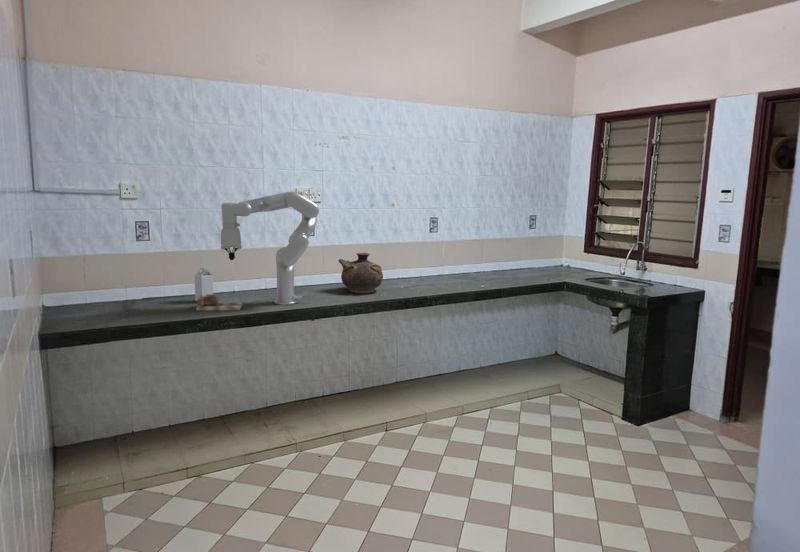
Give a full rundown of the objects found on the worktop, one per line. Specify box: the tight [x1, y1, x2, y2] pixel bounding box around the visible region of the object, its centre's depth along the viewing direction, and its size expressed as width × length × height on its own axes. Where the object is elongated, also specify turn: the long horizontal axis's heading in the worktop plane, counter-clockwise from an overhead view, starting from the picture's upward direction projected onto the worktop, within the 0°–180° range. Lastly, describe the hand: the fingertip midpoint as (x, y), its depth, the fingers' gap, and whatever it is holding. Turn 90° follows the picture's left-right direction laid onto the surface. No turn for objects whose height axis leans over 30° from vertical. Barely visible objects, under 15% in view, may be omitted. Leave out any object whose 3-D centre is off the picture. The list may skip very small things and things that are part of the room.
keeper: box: [205, 293, 219, 305], centre depth 289 cm, size 6×6×5 cm
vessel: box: [338, 252, 384, 294], centre depth 347 cm, size 27×28×25 cm
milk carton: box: [194, 266, 214, 303], centre depth 304 cm, size 7×7×19 cm
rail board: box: [196, 296, 243, 311], centre depth 290 cm, size 22×11×6 cm, turn 100°
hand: (232, 259), depth 293 cm, fingers closed
